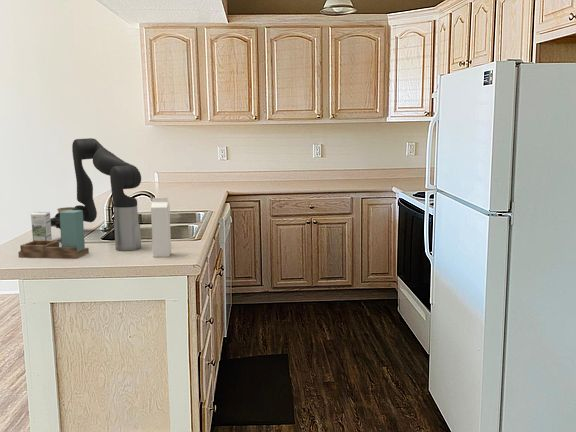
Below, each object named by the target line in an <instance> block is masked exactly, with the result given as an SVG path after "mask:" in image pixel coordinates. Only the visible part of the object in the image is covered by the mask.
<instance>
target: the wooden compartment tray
mask: <svg viewBox="0 0 576 432" xmlns="http://www.w3.org/2000/svg"><path fill="white" fill-rule="evenodd" d="M89 250H90V249H89V247H85V249H83V250H81V251H79V252H77V248H75V247H62V246H61V247H60V240H52V241H43V240H35V241H33V240H32V241H29V242H27V243H25V244H24V243H23V244H21V245H20V251H18V258H33V259H34V258H37V259H38V258H39V259H71V260H72V259H78V258H81V257H83V256H86V255H87V254H89V253H90V251H89Z"/></svg>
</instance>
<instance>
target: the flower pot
mask: <svg viewBox="0 0 576 432" xmlns="http://www.w3.org/2000/svg"><path fill="white" fill-rule="evenodd" d="M74 207H75V206H73V207H72V206H69V207H67V206H66V207H60V208H57V209H56V210H57V213H59V212H63V211H67V210H72V209H73V208H74Z"/></svg>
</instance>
